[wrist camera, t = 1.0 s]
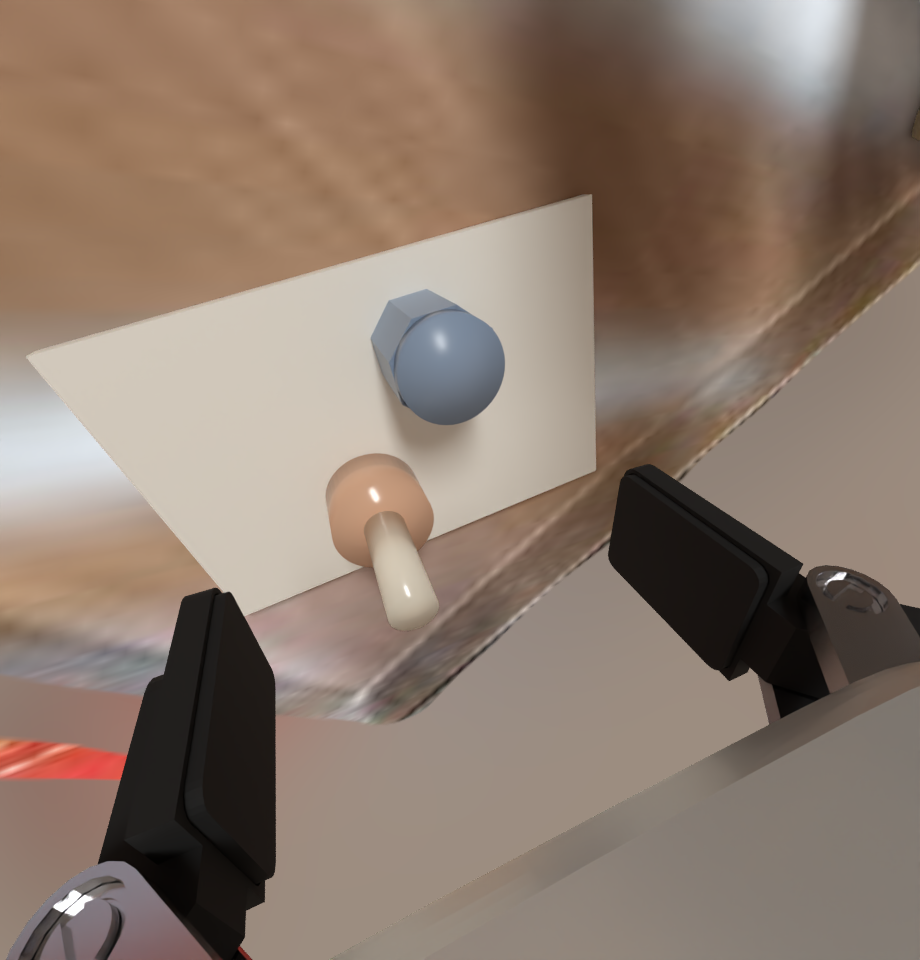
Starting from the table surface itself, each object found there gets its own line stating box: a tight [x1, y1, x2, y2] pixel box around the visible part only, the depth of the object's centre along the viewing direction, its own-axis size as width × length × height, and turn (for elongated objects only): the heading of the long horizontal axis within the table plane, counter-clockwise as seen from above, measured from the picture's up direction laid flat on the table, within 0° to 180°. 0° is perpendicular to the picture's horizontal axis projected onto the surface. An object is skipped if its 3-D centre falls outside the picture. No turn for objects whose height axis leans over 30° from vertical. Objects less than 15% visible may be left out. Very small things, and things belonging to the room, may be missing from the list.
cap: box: [370, 289, 505, 425], centre depth 23 cm, size 6×6×6 cm
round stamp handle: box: [325, 453, 439, 631], centre depth 25 cm, size 6×6×11 cm
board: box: [26, 194, 596, 616], centre depth 28 cm, size 30×20×1 cm, turn 102°
